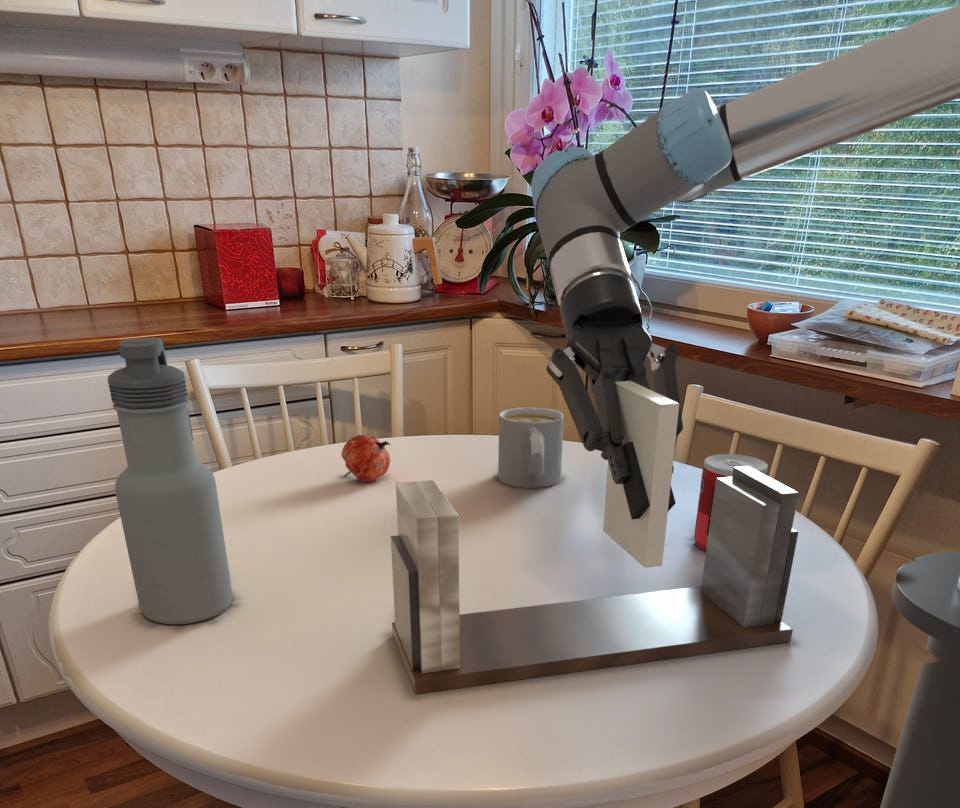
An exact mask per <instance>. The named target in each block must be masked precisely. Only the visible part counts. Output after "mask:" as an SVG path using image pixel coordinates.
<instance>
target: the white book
mask: <svg viewBox="0 0 960 808" xmlns="http://www.w3.org/2000/svg"><path fill="white" fill-rule="evenodd" d="M615 387H616V393H617V399H618V405H619V411H620V417H621V423H622V429H623V435H624V440H623V445H624V444H625V442H633V444H634V448H635V452H636V455H637V459H638V463H639V467H640V470H641V474H642V478H643V481H644V485H645V489H646V493H647V496H648V500H649V504H650V506H649V507H648V509H647V510H646V511H645V512H644V514H643V515H642V516H641V517H640V518H639V519H632V518H631V515H630V511H629V507H628V503H627V499H626V495H625V491H624V488H623V484H616V483H615V482H614V480H613V478H612V474H611V470H610V466H609V462H608V461H607V470H606V471H607V472H606V483H605V484H606V486H605V500H604V502H605V503H604V512H603V513H604V514H603V527H602V531H603V532H604V533H605V534H606V535H607V536H608V537H609V538H611V539H612V541H613V542H615V543H616V544H617V545H618V546H619V547H621V548H622V549H623V550H624V551H625V552H626V553H627V554H629V556H631V558H633V559H634V560H635V561H636V562H637V563H639V564H640V565H641V566H642V567H643V568H644V569H646V568H655V567H662V566H663V561H664V552H665V551H664V550H665V540H666V533H667V524H668V523H667V522H668V514H669V511H668V505H669V496H670V486H671V487H672V476H673V473H672V468H673V467H674V458H675V448H676V441H677V438H676V430H677V421H678V412H679V403H677V402H675V401H673V400H671V399H669V398H667V397H664V396H662V395H660V394H658V393H656V392H655V390H654V391H653V390H652V389H651V390H649V389H647V388H645V387H643V386H641V385H639V384H636V383H634V382H632V381H619V382H615Z"/></svg>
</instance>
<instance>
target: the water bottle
mask: <svg viewBox="0 0 960 808" xmlns="http://www.w3.org/2000/svg"><path fill="white" fill-rule="evenodd" d="M117 345H118V350H119V356H120V359H124V362H125V367H121V368H119V369H116V370H114V371H112V372H111V373H110V374H109V375H108V376H107V383H108V389H109V393H110V398H111V403H113V404H112V408H113V409H114V411H116V414H117V419H118V424H119V430H120V434H121V440H122V444H123V449H124V454H125V461H126V465H127V466H126V468H125V469H124V470H123V471H121V472H120V474H119V475H118V477H117V478H116V481H115V484H114V490H115V491H114V492H115V496H116V497H115V498H116V502H117V506H118V512H119V516H120V521H121V526H122V530H123V535H124V539H125V545H126V550H127V554H128V559H129V564H130V569H131V573H132V578H133V584H134V587H135V592H136V597H137V601H138V607H139V609H140V612H141V613H142V614H143V616H144V617H146V618H147V619H149V620H150V621H153V622H155V623H160V624H165V625H189V624H195V623H199V622H203V621H206V620H210V619H211V618H214V617H216V616H218V615H220V614H221V613H223V612H224V611H225V610H227V608H229V606H230V605H231V603H232V600H233V595H234V593H233V587H232V580H231V574H230V569H229V560H228V555H227V549H226V542H225V536H224V529H223V522H222V515H221V509H220V502H219V495H218V489H217V483H216V478H215V476H214V474H213V472H212V470H211V469H210V468H208V467H207V466H206V465H205V464H203V463H201V462H199V461H198V460H197V458H196V453H195V448H194V435H193V429H192V423H191V416H190V410H189V408H188V405H189V404H190V400H189V398H188V397H189V393H188V389H187V384H186V383H187V381H186V376H185V375H186V374H185V372H184V371H183V370H181V369H179V368H177V367H176V366H173V365H168V359H167V355H166V351H165V347H164V343H163V340H162V337H141V338H140V337H139V338H123V339H122V340H121V341H120V342H119V343H118V344H117Z"/></svg>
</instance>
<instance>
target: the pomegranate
mask: <svg viewBox="0 0 960 808" xmlns="http://www.w3.org/2000/svg"><path fill="white" fill-rule="evenodd" d="M390 445H391V443H390V442H388V440H385V441H382V442H381V440H379V439H378V438H377V437H375V436H368V435H365V434H357V435H355V436H352V437H351V438H350V439H348V440H347V442H346V443H345V444H344V445H343V447H342V450H341V454H340V455H341V457H342V459H343V460H344V463H345V468H347V470H348V472H346V474H343V476H344V478H346V477H347V476H348V475H350V474H351V473H352V475H353V476H355V478H356V479H357V480H358V481H360V482H363V483H372V482H374V481H376V480H378V479H379V478H381V477H383V476H384V475H385V474H386V473H387V472H388V470H389V468H390V464H391V455H390V453H389V451H388V449H386V447H385V446H390Z"/></svg>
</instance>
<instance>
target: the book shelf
mask: <svg viewBox="0 0 960 808" xmlns="http://www.w3.org/2000/svg"><path fill="white" fill-rule="evenodd" d="M395 496H396V497H395V498H396V516H397V518H396V521H397V535H391V536H390V547H391V548H390V550H391V551H390V552H391V568H392V569H391V570H392V589H393V610H394V622H392V623H391V629H392V630H391V631H392V632H391V633H392V637H393V640H394V642H395V644H396V645H395V646H396V648H397V650H398V653H399V655H400V658H401V661H402V663H403V666H404V668H405V671H406V673H407V677H408V679H409V681H410V684H411V686H412V689H413V692H414V694H415V695H420V694H427V693H433V692H440V691H441V692H442V691H448V690H455V689H462V688H470V687H478V686H484V685H492V684H499V683H505V682H512V681H519V680H528V679H534V678H535V679H536V678H542V677H548V676H556V675H563V674H570V673H578V672H586V671H591V670H598V669H607V668H613V667H614V668H615V667H620V666H621V667H622V666H629V665H635V664H641V663H642V664H643V663H649V662H657V661H663V660H672V659H679V658H686V657H693V656H700V655H706V654H715V653H722V652H728V651H736V650H743V649H751V648H757V647H758V648H759V647H764V646H765V647H766V646H772V645H778V644H779V645H781V644H785V643H791V641H792V636H793V631H794V628H792V627H790V626H789V625H788V624H787V623H785V621H783V614H784V610H785V605H786V599H787V594H788V588H789V584H790V579H791V573H792V569H793V563H794V558H795V552H796V547H797V542H798V536H799V531H798V530H797V529H795V528H793V525H794V521H795V515H796V510H797V504H798V499H799V492H798V491H796V490H795V489H793V488H791V487H789V486H787V485H785V484H784V483H781V482H780V481H778V480H777V479H774V478H772V477H770V476H768V475H767V476H766V475H764V474H763V473H761V472H759V471H757V470H755V469H753V468H751V467H749V466H743V467H734V468H733V473H732V477H722V478H716V484H715V491H714V499H713V506H712V513H711V520H710V527H709V535H708V542H707V549H706V551H705V558H704V563H703V564H704V565H703V570H702V579H701V585H699V586H690V587H689V586H688V587H680V588H672V589H665V590H657V591H655V590H654V591H648V592H639V593H630V594H622V595H613V596H605V597H596V598H589V599H579V600H572V601H563V602H555V603H546V604H538V605H537V604H536V605H529V606H520V607H510V608H504V609H494V610H487V611H479V612H477V611H476V612H469V613H460V536H459V533H460V532H459V531H460V530H459V525H460V524H459V521H460V519H459V516H460V515H459V514H458V513H457V511H456V510H455V508H454V507H453V506H452V504H451V503H450V502H449V500H448V499H447V497H446V496H445V494H444V493H443V492H442V491H441V489H440V488H439V486H438V484H436V482H435V481H434V480H433V479H431V480H418V481H403V482H402V481H401V482H395Z"/></svg>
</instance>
